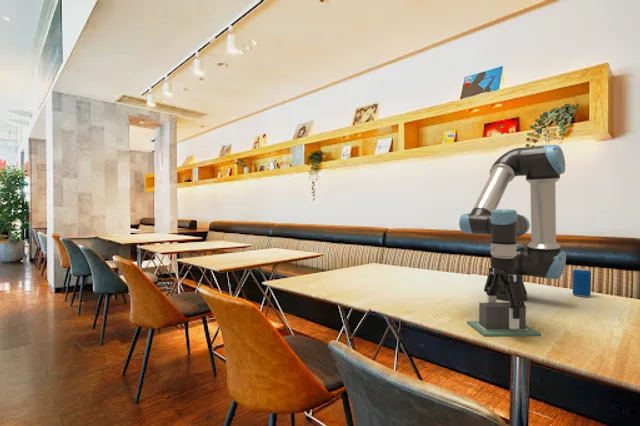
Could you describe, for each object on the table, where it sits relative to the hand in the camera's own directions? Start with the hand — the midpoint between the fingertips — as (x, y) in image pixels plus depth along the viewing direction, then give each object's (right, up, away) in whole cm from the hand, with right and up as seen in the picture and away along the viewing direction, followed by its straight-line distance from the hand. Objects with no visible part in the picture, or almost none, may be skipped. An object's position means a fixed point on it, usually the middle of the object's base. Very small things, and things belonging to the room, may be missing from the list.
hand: (502, 321), depth 116 cm
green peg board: (0, -3, 0) cm, 3 cm away
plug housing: (0, -2, 0) cm, 2 cm away
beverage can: (+57, -2, +42) cm, 71 cm away
